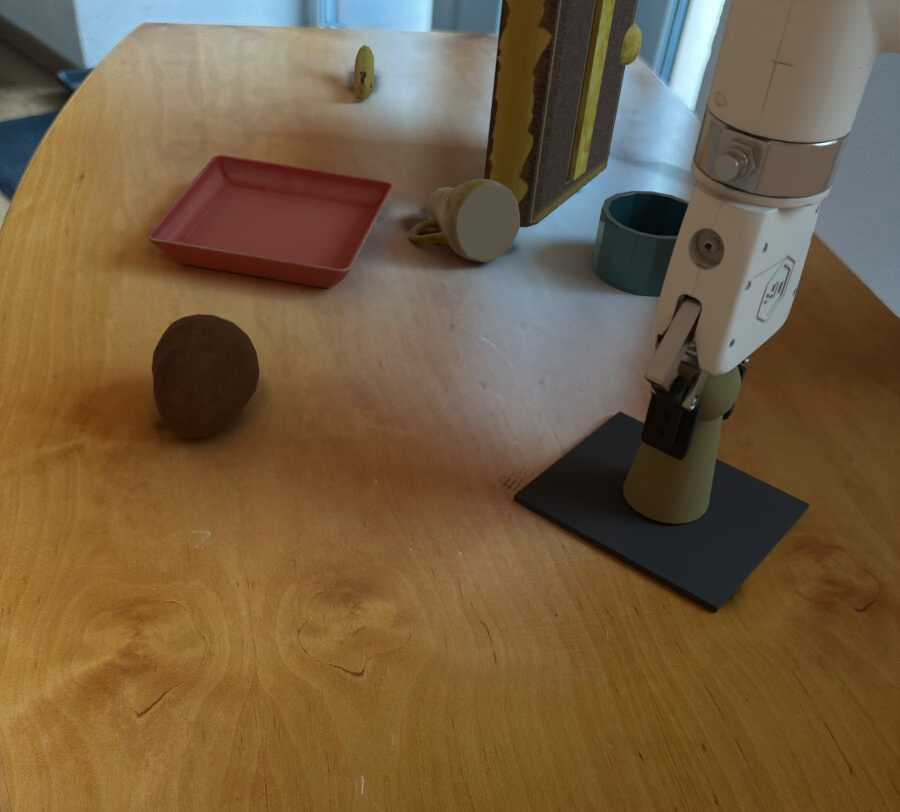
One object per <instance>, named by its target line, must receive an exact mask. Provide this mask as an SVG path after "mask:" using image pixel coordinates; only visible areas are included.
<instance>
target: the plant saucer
mask: <svg viewBox="0 0 900 812" xmlns="http://www.w3.org/2000/svg"><path fill="white" fill-rule="evenodd" d="M394 187H395V184H394V183H392V182H391V181H387V180H380V179H375V178H368V177H364V176H355V175H351V174H344V173H338V172H332V171H326V170H320V169H315V168H307V167H301V166H296V165H291V164H290V165H289V164H282V163H276V162H271V161H264V160H258V159H252V158H245V157H240V156H239V157H238V156H231V155H225V154H218V155H215V156H213V157H212V158H210V159H209V161H208V162H207V163H206V165H205V166H204V167H203V168H202V169H201V171H199V173H198V174H197V175H196V176H195V178H194V179H193V180H192V181H191V182H190V183H189V184H188V185H187V187H186V188H185V189H184V190H183V191H182V192H181V194H180V195H179V196H178V197H177V198H176V199H175V201H174V202H173V203H172V204H170V207H169V208H168V209H167V210H166V211H165V212H164V214H163V215H162V216H161V217H160V218H159V219H158V221H156V223H155V224H154V225H153V226H152V227H151V228H150V229H149V231H148V232H147V234H146V237H147V240H148V241H150V242H151V243H152V244H153V245H154V246H155V247H156V248H158V250H160V251H161V252H163V253H164V254H166V255H167V256H168V257H169V258H171V259H173V260H174V261H176V262H177V263H180V264H182V265H186V266H192V265H193V267H198V268H204V269H205V268H206V269H211V270H217V271H224V272H230V273H235V274H242V275H248V276H255V277H260V278H264V279H265V278H266V279H272V280H276V281H282V282H289V283H294V284H300V285H307V286H312V287H319V288H325V289H331V288H334V287H336V286H337V285H338V284H339V283H341V282H342V281H343V280H344V279H345V278H346V277H347V275H348V274H349V272H350V271H351V269H352V267H353V265H354V263H355V262H356V260H357V258H358V256H359V254H360V253H361V252H360V251H361V250H362V248H363V246H364V244H365V242H366V241H367V239H368V237H369V235H370V233H371V231H372V229H373V227H374V225H375V223H376V222H377V219H378V218H379V216H380V214H381V213H382V210H383V208H384V206H385V205H386V203H387V201H388V199H389V197H390V195H391V194H392V192H393V189H395V188H394Z"/></svg>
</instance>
